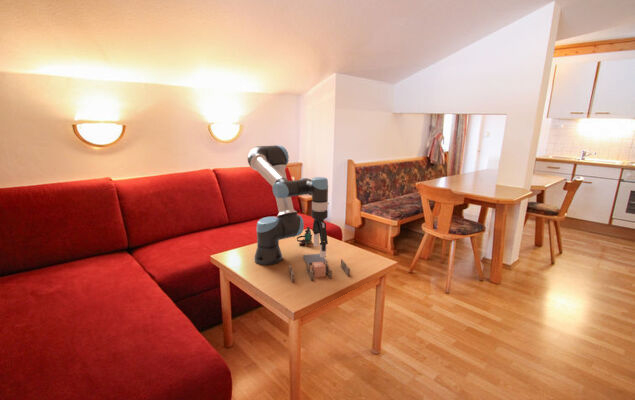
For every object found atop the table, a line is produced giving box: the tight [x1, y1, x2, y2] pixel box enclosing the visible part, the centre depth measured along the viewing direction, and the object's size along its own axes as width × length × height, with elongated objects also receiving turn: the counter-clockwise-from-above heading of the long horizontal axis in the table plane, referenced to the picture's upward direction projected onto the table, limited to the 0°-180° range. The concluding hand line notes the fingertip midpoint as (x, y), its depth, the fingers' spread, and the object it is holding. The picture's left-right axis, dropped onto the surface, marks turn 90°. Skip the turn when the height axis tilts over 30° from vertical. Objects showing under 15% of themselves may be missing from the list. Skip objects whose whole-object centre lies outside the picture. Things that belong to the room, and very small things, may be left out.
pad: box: [302, 253, 328, 266], centre depth 177 cm, size 11×11×1 cm
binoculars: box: [296, 226, 313, 247], centre depth 198 cm, size 9×11×10 cm
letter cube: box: [311, 262, 327, 278], centre depth 160 cm, size 6×6×6 cm
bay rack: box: [288, 259, 351, 284], centre depth 160 cm, size 12×29×4 cm, turn 104°
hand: (319, 251), depth 158 cm, fingers open, 13 cm apart
